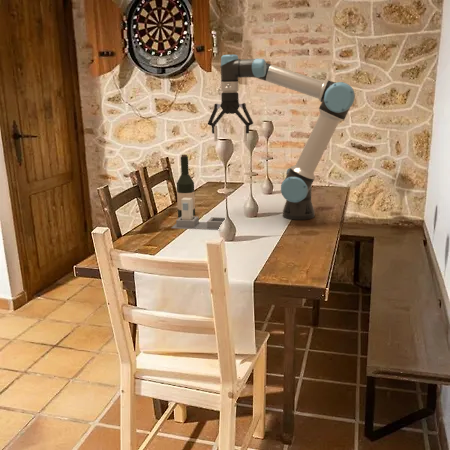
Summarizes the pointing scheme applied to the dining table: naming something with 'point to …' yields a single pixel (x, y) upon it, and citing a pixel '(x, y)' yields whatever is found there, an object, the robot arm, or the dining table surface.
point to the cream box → (187, 208)
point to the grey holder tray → (199, 223)
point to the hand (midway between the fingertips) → (230, 141)
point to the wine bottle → (185, 185)
